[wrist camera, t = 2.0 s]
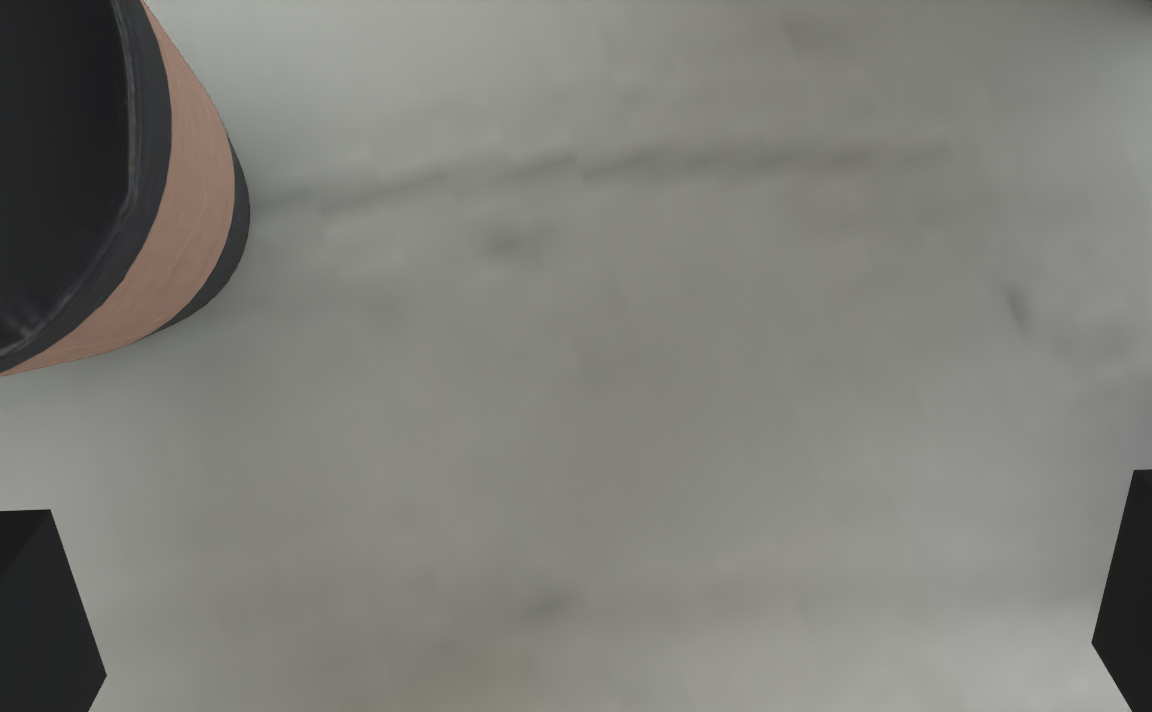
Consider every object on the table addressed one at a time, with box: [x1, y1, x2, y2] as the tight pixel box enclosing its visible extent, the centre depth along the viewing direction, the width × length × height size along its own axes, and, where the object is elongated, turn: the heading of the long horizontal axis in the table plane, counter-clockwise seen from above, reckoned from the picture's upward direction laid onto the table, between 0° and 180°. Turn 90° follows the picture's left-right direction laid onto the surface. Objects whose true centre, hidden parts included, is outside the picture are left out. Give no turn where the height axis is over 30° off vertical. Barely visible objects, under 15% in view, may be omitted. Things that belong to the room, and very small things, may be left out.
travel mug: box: [0, 0, 250, 377], centre depth 21 cm, size 8×8×20 cm
